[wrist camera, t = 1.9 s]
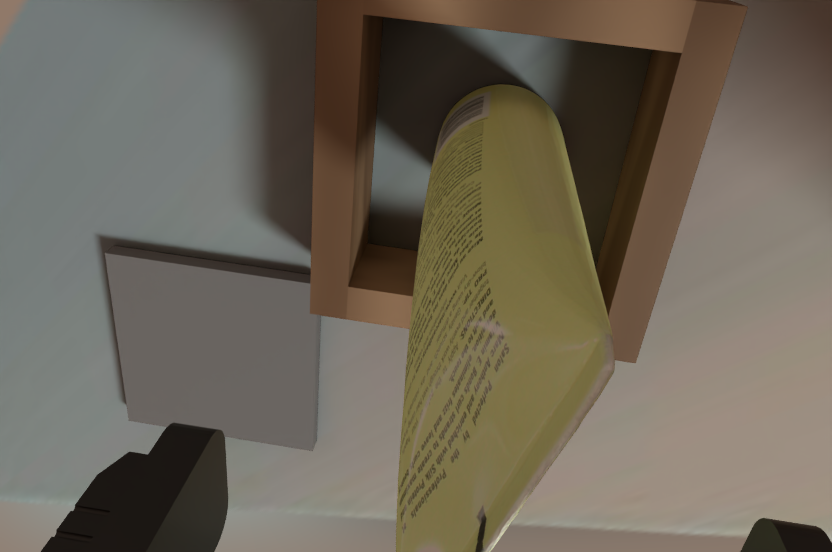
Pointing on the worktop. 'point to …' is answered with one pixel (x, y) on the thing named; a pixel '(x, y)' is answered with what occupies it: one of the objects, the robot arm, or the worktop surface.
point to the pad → (216, 346)
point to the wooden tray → (639, 180)
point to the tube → (496, 324)
